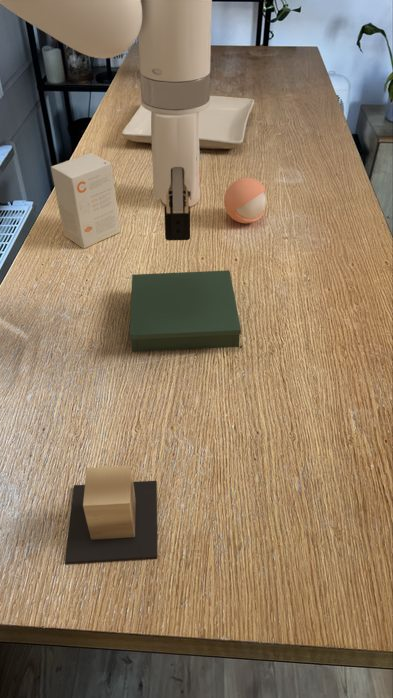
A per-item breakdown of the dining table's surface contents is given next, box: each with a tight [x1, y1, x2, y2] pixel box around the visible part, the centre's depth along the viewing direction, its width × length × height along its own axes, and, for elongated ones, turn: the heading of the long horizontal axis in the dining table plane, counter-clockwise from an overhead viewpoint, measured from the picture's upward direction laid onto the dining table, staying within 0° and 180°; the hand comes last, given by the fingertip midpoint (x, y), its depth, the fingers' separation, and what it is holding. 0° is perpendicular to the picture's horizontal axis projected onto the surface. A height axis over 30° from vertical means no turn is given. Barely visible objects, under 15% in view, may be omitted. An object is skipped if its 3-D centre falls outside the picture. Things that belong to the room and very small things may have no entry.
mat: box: [64, 480, 158, 565], centre depth 61 cm, size 9×9×1 cm
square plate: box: [121, 95, 255, 150], centre depth 139 cm, size 27×27×4 cm
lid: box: [129, 269, 242, 340], centre depth 82 cm, size 15×15×1 cm
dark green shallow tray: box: [130, 334, 241, 353], centre depth 84 cm, size 14×15×3 cm
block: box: [83, 465, 136, 540], centre depth 59 cm, size 4×4×6 cm
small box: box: [50, 152, 121, 249], centre depth 100 cm, size 8×6×13 cm
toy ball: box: [223, 177, 267, 224], centre depth 105 cm, size 8×8×8 cm
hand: (177, 236), depth 76 cm, fingers closed
